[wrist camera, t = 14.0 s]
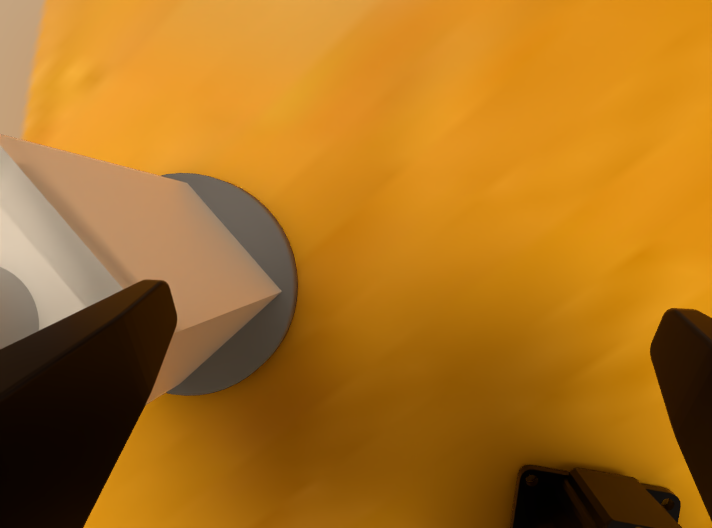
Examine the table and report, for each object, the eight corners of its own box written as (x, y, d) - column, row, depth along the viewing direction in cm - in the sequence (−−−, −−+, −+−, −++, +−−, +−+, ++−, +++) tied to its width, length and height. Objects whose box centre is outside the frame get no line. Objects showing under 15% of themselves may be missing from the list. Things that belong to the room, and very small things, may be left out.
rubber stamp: (281, 291, 21) (70, 372, 8) (179, 384, 22) (-165, 595, 9) (187, 182, 21) (-166, 91, 8) (89, 277, 22) (-376, 331, 9)
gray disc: (284, 404, 22) (278, 412, 21) (85, 371, 23) (70, 376, 22) (309, 189, 21) (305, 186, 20) (104, 165, 23) (90, 161, 22)
